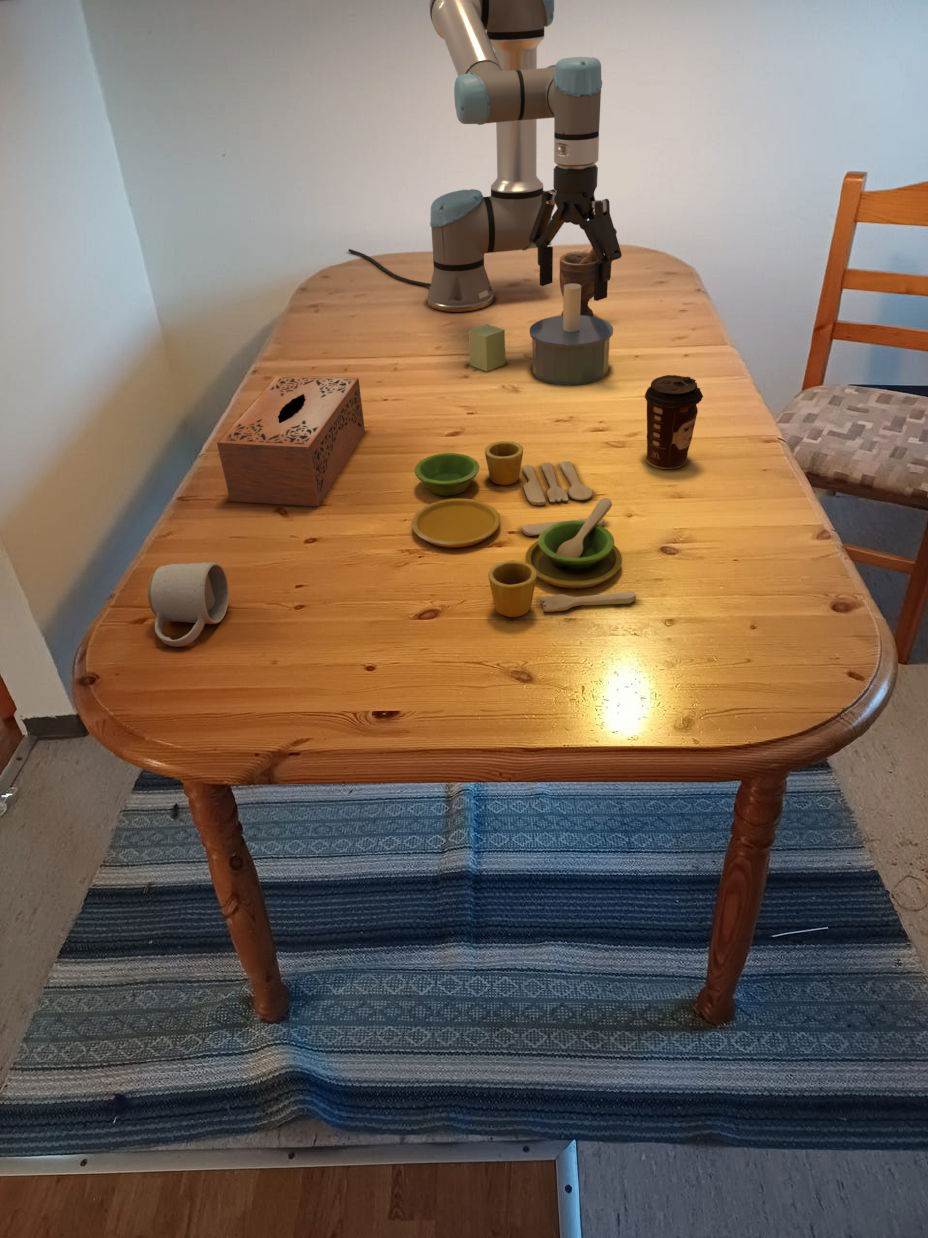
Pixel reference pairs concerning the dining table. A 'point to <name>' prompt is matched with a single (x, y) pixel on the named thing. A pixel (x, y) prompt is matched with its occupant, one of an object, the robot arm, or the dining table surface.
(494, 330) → the block
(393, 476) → the dining table surface
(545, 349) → the bowl
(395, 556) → the dining table surface
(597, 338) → the bowl lid
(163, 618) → the ceramic mug
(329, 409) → the tissue box cover
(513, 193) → the robot arm
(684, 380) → the coffee cup
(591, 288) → the mortar and pestle
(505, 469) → the tableware set
